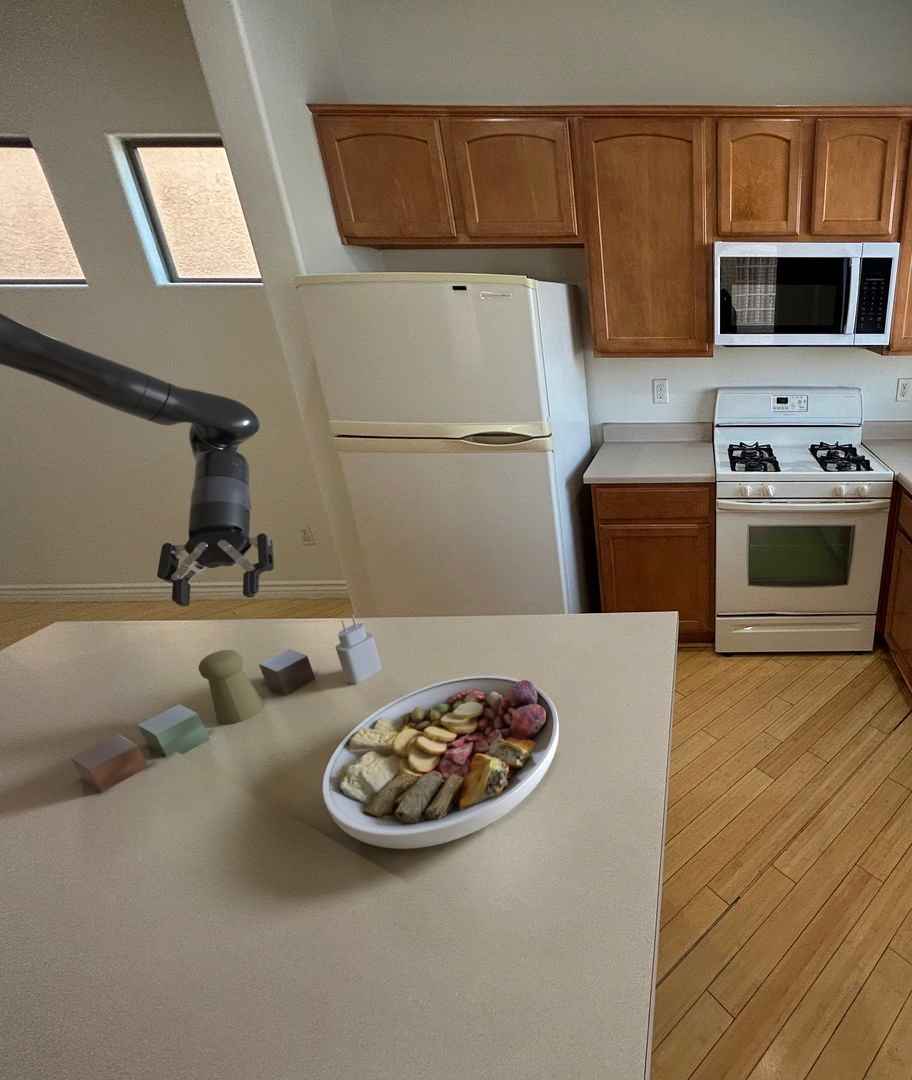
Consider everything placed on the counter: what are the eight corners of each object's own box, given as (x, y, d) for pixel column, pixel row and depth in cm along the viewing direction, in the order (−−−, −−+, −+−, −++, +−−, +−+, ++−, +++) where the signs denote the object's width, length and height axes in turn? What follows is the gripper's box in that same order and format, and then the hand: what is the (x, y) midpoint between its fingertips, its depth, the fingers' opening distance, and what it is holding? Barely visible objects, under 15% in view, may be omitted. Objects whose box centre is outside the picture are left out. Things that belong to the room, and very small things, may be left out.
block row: (104, 798, 75) (88, 770, 73) (86, 785, 76) (70, 758, 74) (315, 679, 98) (307, 655, 96) (297, 671, 100) (289, 648, 98)
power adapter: (384, 668, 101) (368, 612, 96) (355, 685, 97) (337, 627, 92) (372, 663, 102) (356, 608, 97) (344, 680, 98) (325, 623, 93)
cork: (225, 704, 92) (201, 649, 87) (269, 695, 94) (247, 641, 89) (210, 728, 87) (184, 671, 82) (257, 718, 89) (234, 662, 84)
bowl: (397, 915, 61) (380, 867, 58) (296, 781, 78) (279, 738, 74) (602, 754, 83) (599, 713, 80) (490, 676, 100) (483, 639, 96)
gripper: (152, 504, 87) (143, 601, 82) (261, 495, 92) (259, 586, 87) (180, 523, 94) (173, 614, 89) (281, 513, 99) (280, 599, 94)
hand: (216, 600), depth 88 cm, fingers open, 8 cm apart
